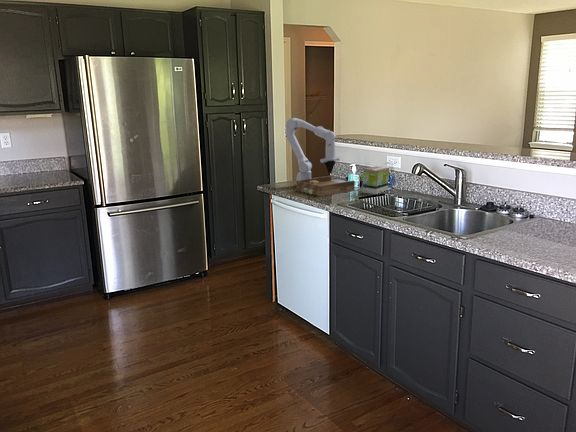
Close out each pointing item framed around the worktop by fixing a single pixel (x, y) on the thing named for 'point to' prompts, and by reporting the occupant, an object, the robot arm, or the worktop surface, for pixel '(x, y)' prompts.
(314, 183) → the maple cube
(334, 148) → the robot arm
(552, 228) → the worktop surface
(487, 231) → the worktop surface
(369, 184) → the tea box
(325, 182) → the trap board
